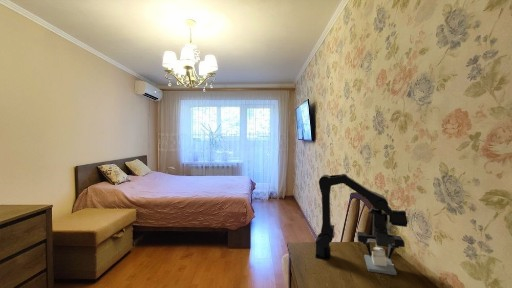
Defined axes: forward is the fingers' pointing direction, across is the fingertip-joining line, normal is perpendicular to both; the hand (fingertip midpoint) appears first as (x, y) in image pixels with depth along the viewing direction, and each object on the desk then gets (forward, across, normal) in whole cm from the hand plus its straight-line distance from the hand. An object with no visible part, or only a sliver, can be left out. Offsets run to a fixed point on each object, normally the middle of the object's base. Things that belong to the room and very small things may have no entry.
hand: (379, 257), depth 112 cm
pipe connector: (+4, +2, +16) cm, 17 cm away
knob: (+2, 0, 0) cm, 2 cm away
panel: (+4, 0, 0) cm, 4 cm away
